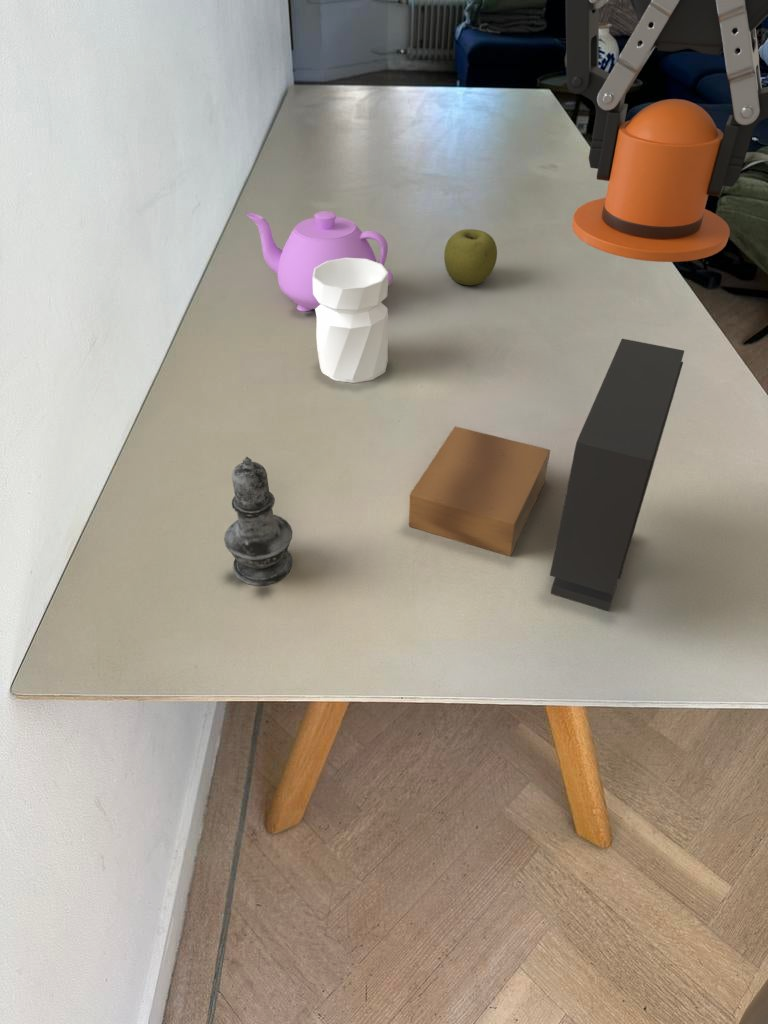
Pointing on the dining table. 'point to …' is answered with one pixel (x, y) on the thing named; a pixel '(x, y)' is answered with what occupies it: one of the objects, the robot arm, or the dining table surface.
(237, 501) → the chess piece
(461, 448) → the stand
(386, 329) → the vase
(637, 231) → the hat
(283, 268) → the teapot
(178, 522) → the dining table surface
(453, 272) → the apple
